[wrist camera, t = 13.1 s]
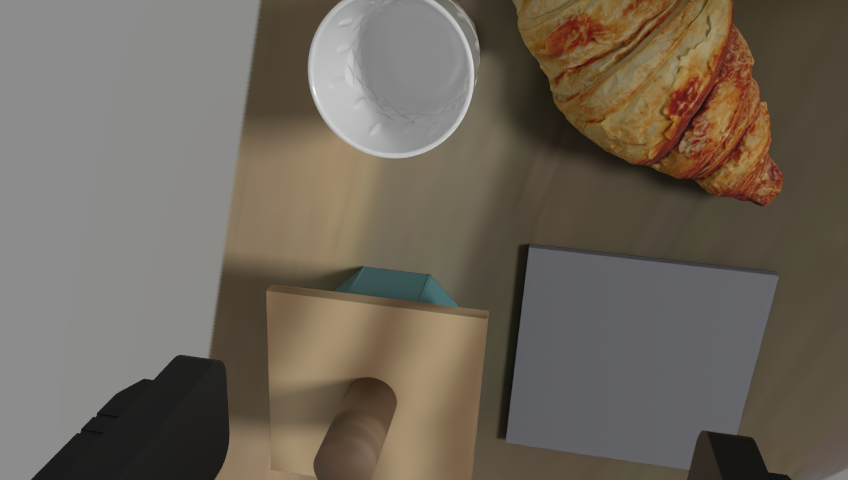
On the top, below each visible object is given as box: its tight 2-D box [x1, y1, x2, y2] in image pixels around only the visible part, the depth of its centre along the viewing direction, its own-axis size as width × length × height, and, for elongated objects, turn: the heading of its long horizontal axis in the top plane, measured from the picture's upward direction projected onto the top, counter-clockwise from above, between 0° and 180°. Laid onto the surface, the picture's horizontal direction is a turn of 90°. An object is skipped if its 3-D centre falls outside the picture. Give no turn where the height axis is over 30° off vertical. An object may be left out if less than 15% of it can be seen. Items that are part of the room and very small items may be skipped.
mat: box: [506, 244, 779, 470], centre depth 47 cm, size 15×15×1 cm
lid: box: [266, 284, 489, 480], centre depth 41 cm, size 13×13×8 cm
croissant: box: [513, 0, 783, 206], centre depth 38 cm, size 21×10×8 cm, turn 48°
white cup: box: [308, 0, 480, 158], centre depth 38 cm, size 8×8×10 cm
